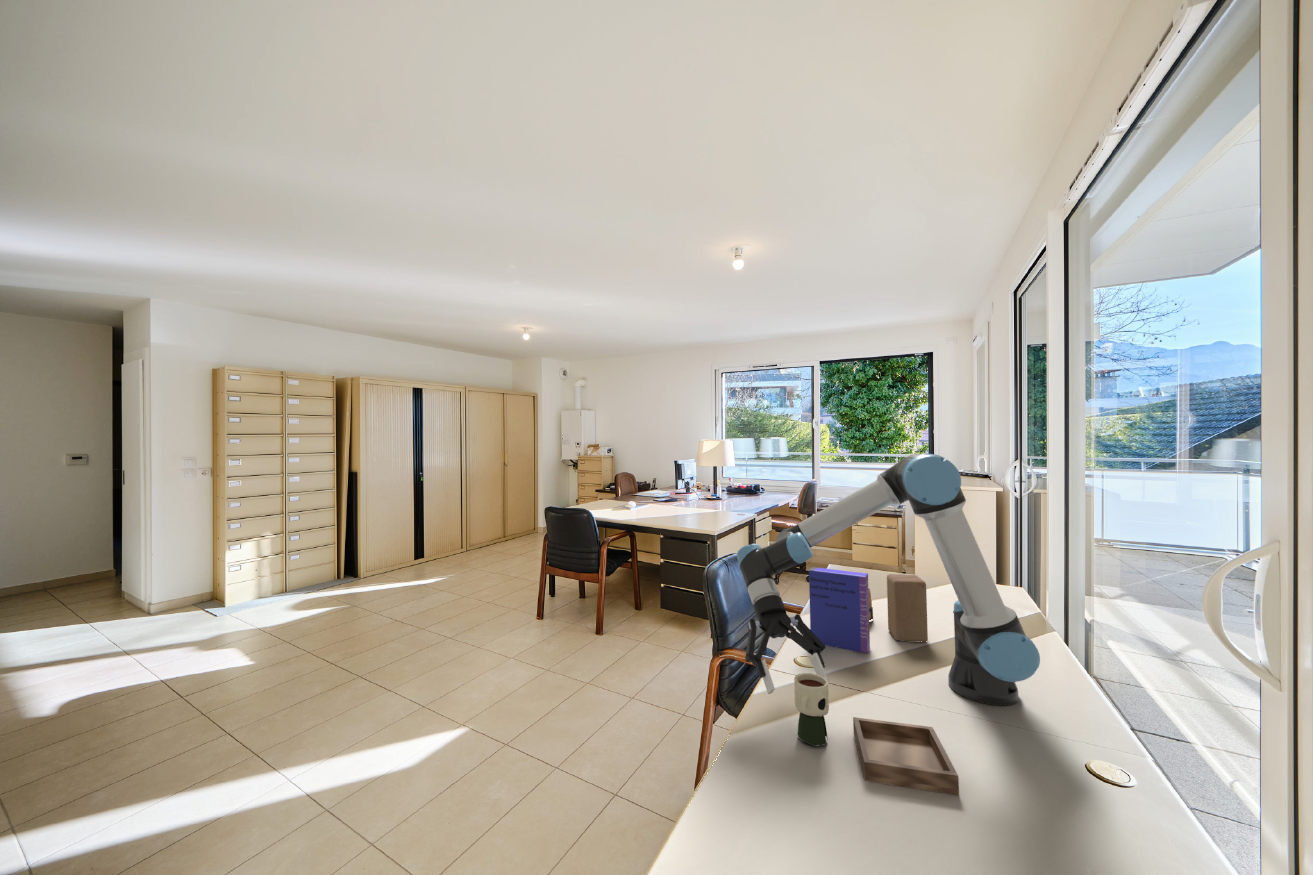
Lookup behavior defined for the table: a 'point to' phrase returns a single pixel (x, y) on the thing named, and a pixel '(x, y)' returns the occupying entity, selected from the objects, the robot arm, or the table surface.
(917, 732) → the walnut tray
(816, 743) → the character mug
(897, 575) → the wooden block
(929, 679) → the table surface
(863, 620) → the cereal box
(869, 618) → the ammunition clip
